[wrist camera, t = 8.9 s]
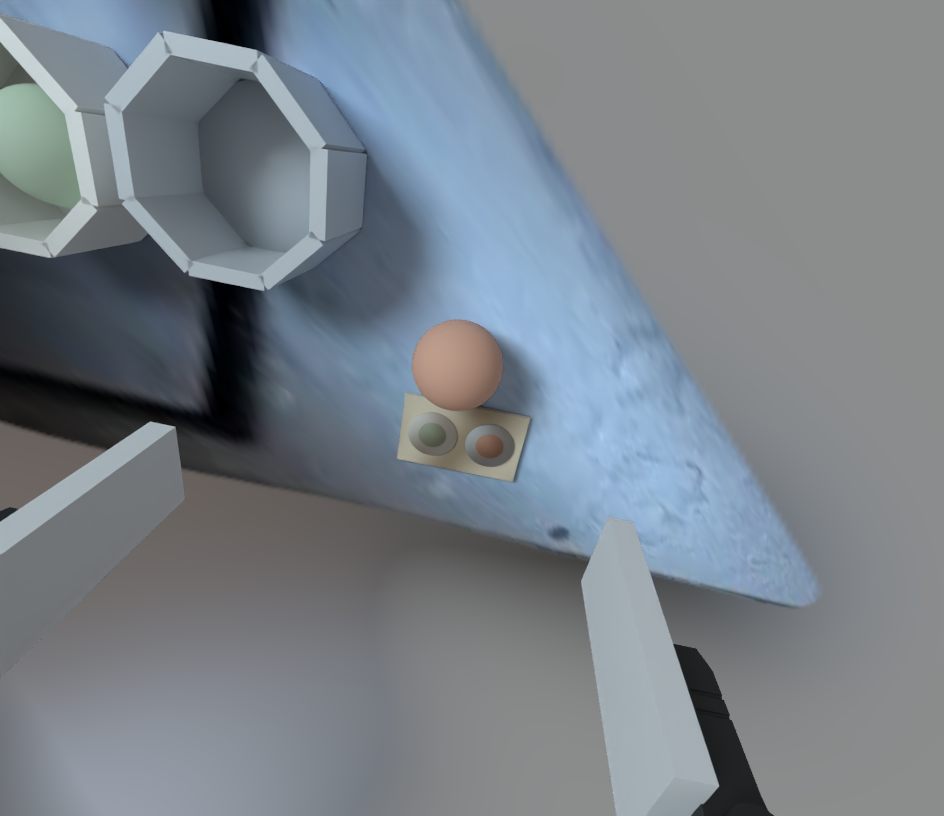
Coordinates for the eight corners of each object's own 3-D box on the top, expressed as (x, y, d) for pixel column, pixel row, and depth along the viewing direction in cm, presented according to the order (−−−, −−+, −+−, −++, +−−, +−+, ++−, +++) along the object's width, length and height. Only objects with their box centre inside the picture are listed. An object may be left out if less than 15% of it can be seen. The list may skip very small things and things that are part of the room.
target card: (397, 456, 31) (396, 460, 31) (406, 391, 29) (404, 395, 29) (512, 479, 31) (512, 483, 31) (530, 416, 29) (530, 420, 29)
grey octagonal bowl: (201, 246, 26) (129, 263, 21) (184, 49, 22) (88, 14, 17) (358, 278, 26) (323, 303, 21) (371, 88, 22) (330, 65, 17)
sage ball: (26, 192, 23) (-26, 205, 19) (-2, 74, 21) (-68, 62, 17) (143, 208, 25) (117, 223, 21) (129, 101, 23) (97, 96, 19)
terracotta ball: (416, 379, 29) (398, 417, 24) (426, 300, 26) (409, 327, 22) (494, 395, 29) (491, 436, 24) (512, 318, 26) (512, 348, 22)
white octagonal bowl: (28, 219, 26) (-84, 230, 21) (-23, 19, 22) (-177, -25, 17) (185, 251, 26) (110, 270, 21) (164, 58, 22) (65, 26, 17)
